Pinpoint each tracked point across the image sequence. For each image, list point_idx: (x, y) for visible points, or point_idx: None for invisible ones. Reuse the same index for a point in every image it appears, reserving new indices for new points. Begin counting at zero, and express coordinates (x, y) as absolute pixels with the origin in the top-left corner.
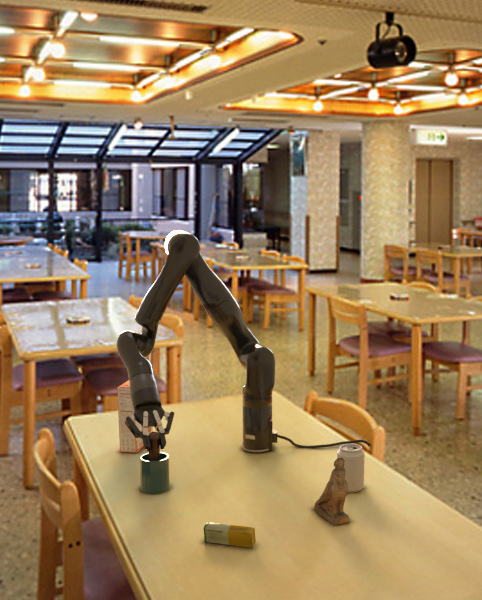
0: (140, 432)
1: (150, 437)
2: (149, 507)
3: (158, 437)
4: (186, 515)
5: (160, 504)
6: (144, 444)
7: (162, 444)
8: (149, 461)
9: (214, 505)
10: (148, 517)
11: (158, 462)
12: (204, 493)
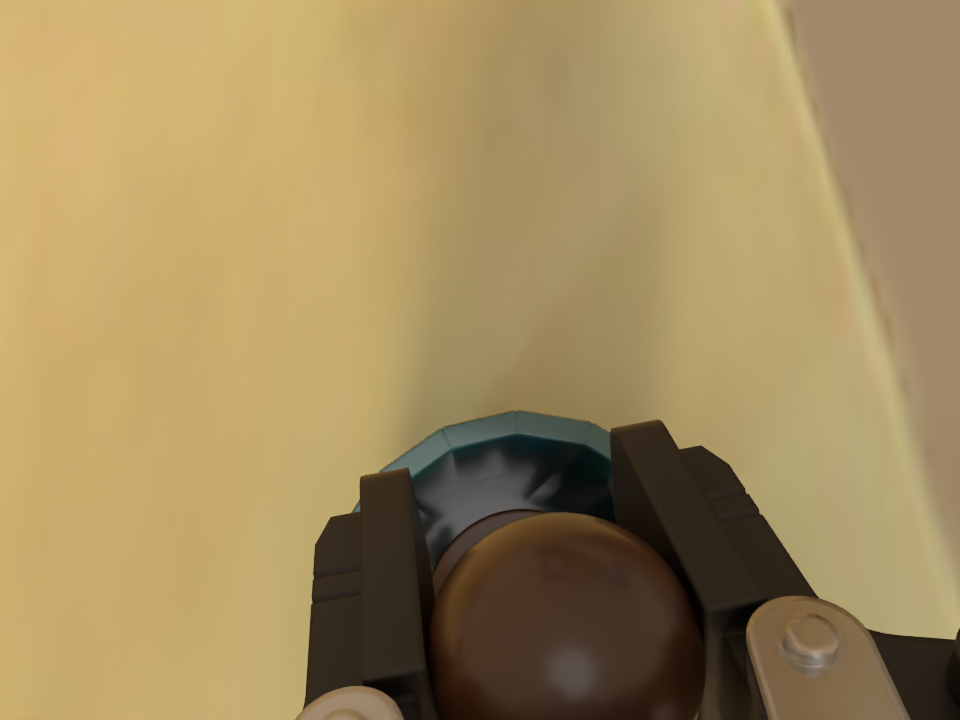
0: (945, 708)
1: (647, 546)
2: (561, 206)
3: (463, 557)
4: (312, 21)
5: (477, 241)
6: (737, 484)
7: (396, 479)
8: (598, 429)
9: (86, 134)
10: (570, 47)
11: (479, 418)
12: (106, 378)
